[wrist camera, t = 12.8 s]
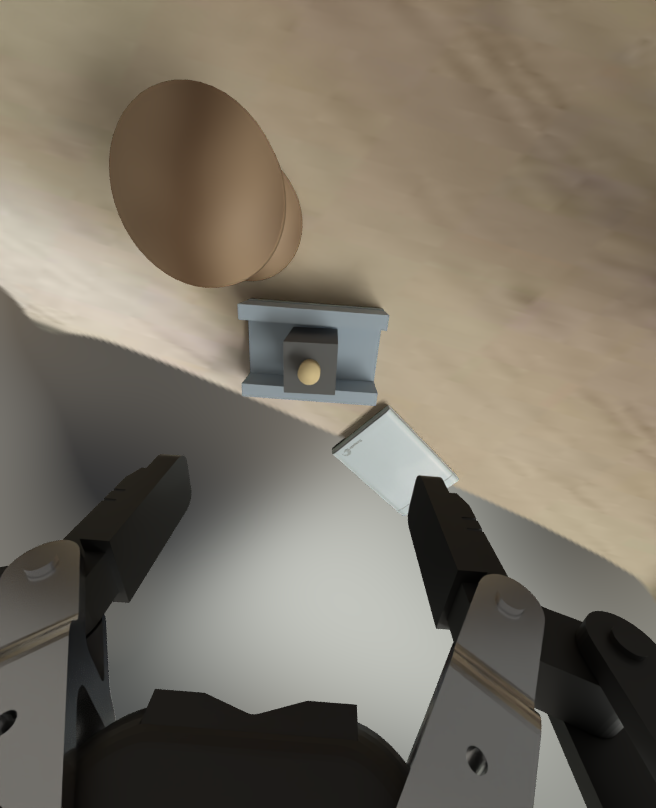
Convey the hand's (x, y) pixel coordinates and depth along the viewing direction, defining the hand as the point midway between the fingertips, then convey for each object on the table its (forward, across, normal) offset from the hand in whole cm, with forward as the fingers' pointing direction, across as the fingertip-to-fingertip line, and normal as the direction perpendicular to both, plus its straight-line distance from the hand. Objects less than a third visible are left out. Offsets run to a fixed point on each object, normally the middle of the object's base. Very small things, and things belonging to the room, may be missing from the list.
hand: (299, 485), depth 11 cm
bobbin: (+20, +7, -10) cm, 24 cm away
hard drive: (+21, -9, +13) cm, 26 cm away
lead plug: (+19, +1, 0) cm, 19 cm away
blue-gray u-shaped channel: (+20, +1, 0) cm, 20 cm away
